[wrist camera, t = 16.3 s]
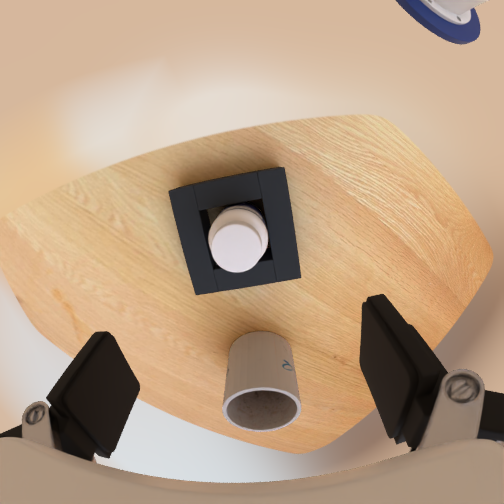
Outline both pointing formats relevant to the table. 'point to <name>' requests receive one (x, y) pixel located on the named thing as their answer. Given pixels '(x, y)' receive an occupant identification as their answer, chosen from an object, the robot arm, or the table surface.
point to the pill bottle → (238, 237)
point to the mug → (261, 383)
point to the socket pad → (225, 193)
